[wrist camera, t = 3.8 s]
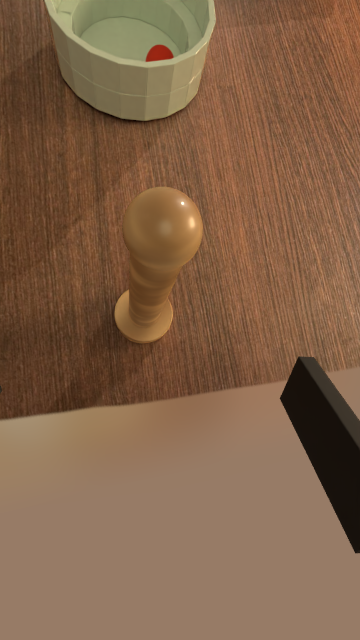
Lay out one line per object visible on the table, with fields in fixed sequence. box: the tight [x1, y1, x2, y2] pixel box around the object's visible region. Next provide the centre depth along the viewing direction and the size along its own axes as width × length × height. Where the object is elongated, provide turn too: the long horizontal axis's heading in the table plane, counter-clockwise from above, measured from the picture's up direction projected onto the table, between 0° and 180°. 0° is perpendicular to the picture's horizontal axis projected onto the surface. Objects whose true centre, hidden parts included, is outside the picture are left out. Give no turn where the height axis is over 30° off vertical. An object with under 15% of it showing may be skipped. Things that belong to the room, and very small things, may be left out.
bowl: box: [43, 0, 216, 121], centre depth 30 cm, size 15×15×6 cm
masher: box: [114, 187, 203, 344], centre depth 19 cm, size 5×5×17 cm
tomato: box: [146, 44, 174, 62], centre depth 31 cm, size 3×3×3 cm
